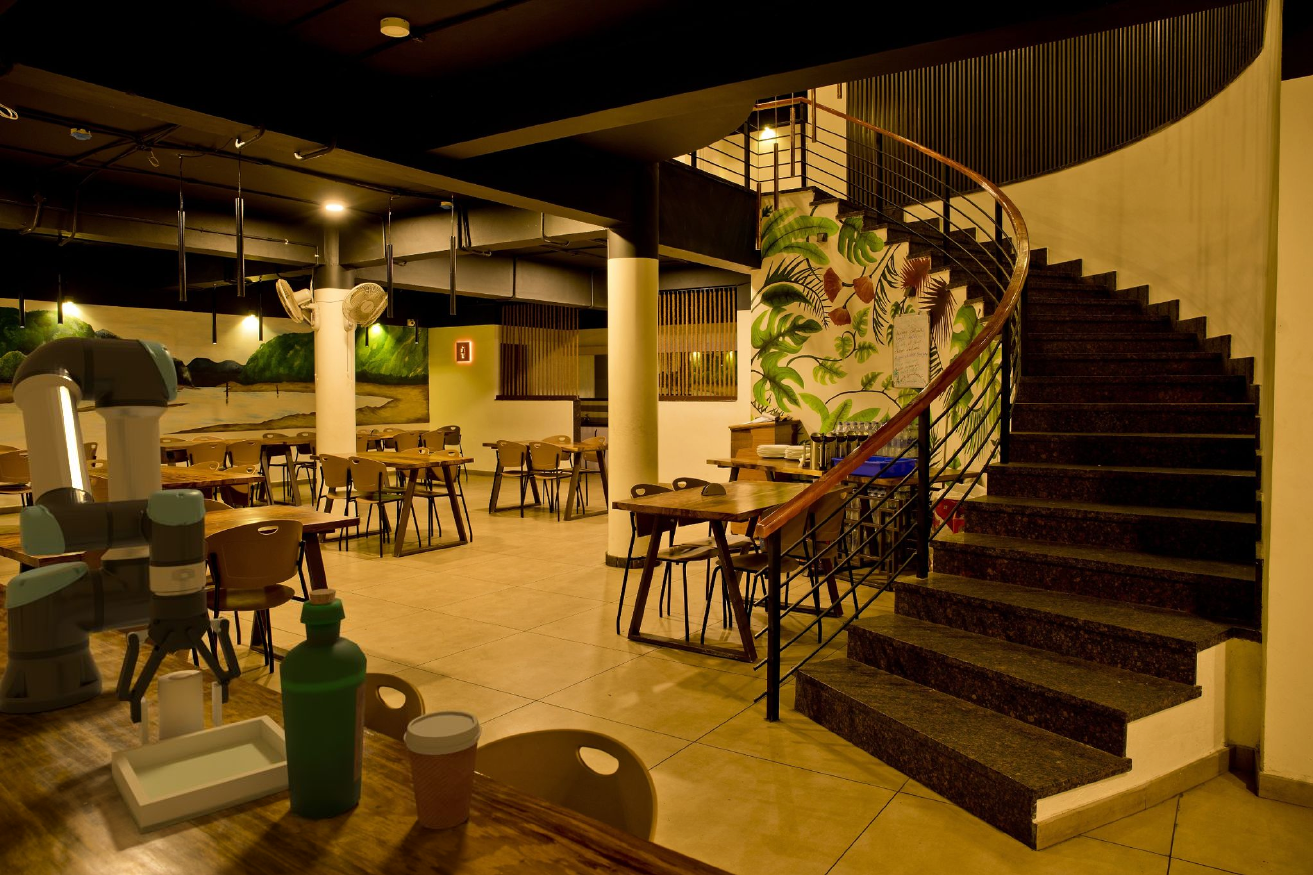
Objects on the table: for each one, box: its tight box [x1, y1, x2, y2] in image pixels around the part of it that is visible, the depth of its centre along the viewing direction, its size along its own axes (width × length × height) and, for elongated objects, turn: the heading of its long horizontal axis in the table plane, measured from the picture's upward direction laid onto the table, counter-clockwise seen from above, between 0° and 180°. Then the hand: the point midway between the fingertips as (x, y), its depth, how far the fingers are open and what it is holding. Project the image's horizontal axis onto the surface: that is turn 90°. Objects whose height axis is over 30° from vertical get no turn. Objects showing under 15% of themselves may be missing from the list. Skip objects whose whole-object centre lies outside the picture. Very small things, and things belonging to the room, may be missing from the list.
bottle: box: [279, 588, 368, 820], centre depth 104 cm, size 11×11×28 cm
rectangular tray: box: [111, 714, 289, 835], centre depth 112 cm, size 20×20×4 cm
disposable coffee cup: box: [403, 710, 483, 830], centre depth 101 cm, size 10×10×12 cm
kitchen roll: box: [157, 669, 205, 741], centre depth 125 cm, size 6×6×10 cm
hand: (181, 732), depth 125 cm, fingers open, 9 cm apart
